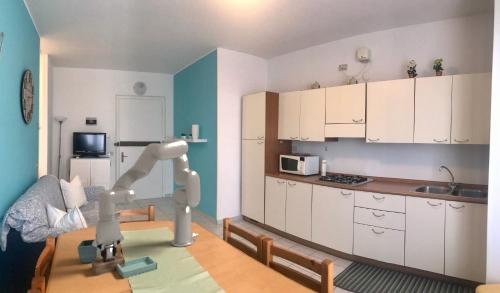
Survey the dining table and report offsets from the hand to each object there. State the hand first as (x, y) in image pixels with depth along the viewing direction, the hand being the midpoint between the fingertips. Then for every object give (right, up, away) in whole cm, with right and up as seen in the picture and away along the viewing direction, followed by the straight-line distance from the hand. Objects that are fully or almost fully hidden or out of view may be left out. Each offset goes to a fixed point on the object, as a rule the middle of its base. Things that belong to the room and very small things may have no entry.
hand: (108, 256), depth 133 cm
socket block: (0, -6, 0) cm, 6 cm away
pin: (0, -4, 0) cm, 4 cm away
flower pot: (-13, -5, +8) cm, 16 cm away
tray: (+13, -6, -1) cm, 14 cm away
